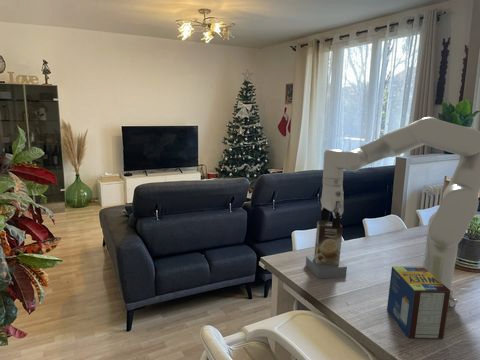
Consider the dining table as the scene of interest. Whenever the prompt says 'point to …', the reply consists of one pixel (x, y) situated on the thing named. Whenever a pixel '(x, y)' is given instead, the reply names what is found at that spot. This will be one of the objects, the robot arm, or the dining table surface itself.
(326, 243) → the coffee box
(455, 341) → the dining table surface
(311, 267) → the pedestal
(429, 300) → the protein box
